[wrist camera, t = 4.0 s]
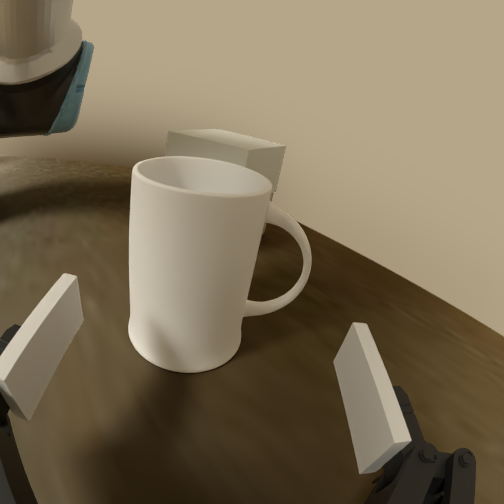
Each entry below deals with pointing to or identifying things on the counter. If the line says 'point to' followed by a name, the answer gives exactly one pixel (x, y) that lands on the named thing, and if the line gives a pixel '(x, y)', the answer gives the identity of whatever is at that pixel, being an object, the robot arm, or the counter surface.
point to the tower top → (229, 150)
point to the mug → (198, 258)
